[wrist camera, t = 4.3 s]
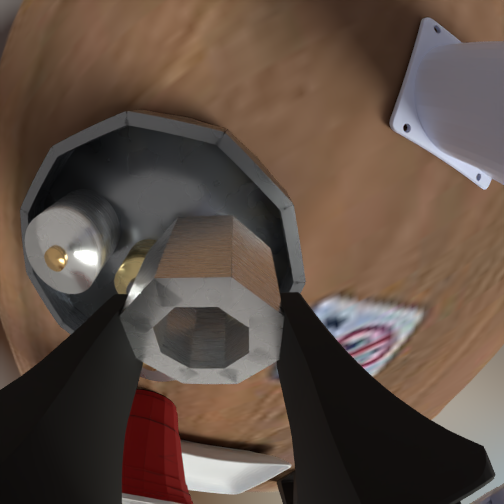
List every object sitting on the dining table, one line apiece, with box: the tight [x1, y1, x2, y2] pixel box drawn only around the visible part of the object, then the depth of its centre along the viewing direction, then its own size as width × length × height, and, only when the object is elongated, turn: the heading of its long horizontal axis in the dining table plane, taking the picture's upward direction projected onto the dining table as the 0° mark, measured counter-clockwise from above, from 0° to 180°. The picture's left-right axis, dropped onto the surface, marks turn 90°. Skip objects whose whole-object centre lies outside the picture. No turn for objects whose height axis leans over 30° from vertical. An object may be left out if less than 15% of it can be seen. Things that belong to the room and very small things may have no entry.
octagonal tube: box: [120, 215, 284, 384], centre depth 9 cm, size 4×4×3 cm
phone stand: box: [277, 471, 298, 504], centre depth 35 cm, size 9×6×12 cm, turn 160°
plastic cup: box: [122, 390, 193, 504], centre depth 20 cm, size 11×11×12 cm
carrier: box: [20, 109, 306, 381], centre depth 14 cm, size 16×16×5 cm
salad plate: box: [180, 440, 291, 494], centre depth 32 cm, size 21×21×3 cm
